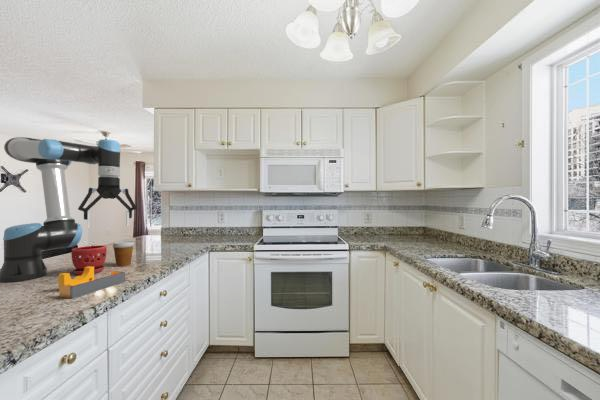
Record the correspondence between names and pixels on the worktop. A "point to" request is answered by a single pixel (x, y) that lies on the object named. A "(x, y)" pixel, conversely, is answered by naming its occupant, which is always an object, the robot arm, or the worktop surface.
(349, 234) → the worktop surface
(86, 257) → the plant pot
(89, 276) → the pipe clamp
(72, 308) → the worktop surface
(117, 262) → the disposable coffee cup
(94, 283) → the keeper bracket
